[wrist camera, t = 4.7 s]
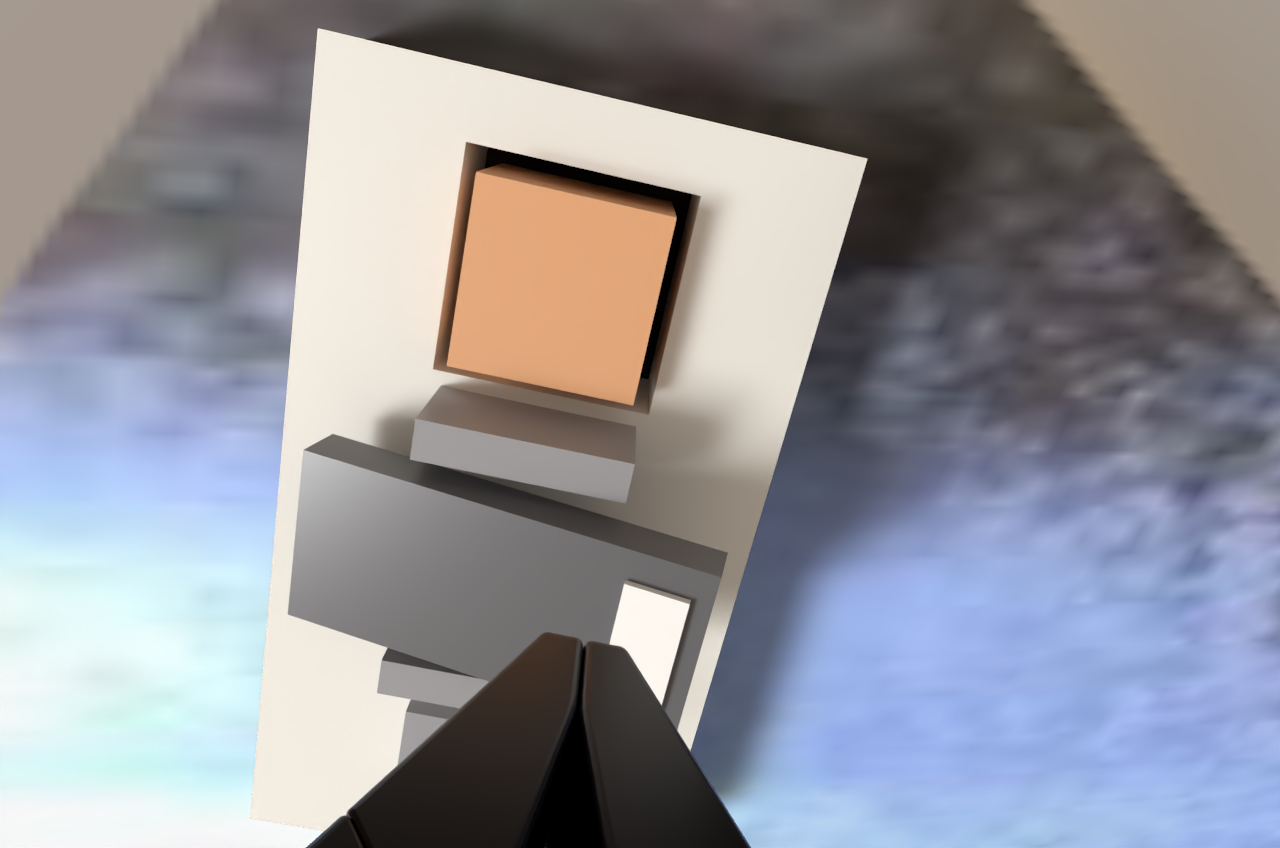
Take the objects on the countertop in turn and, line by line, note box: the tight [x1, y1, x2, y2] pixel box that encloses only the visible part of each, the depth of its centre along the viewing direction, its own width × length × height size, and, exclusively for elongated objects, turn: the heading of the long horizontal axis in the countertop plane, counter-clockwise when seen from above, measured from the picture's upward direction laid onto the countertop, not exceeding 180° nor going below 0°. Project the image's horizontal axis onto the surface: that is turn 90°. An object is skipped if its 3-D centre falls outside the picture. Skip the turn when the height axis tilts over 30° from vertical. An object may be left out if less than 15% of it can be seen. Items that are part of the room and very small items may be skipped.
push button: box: [447, 163, 677, 405], centre depth 17 cm, size 4×4×3 cm
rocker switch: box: [288, 434, 728, 730], centre depth 16 cm, size 8×4×1 cm, turn 78°
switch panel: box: [250, 28, 867, 831], centre depth 18 cm, size 10×18×4 cm, turn 167°
